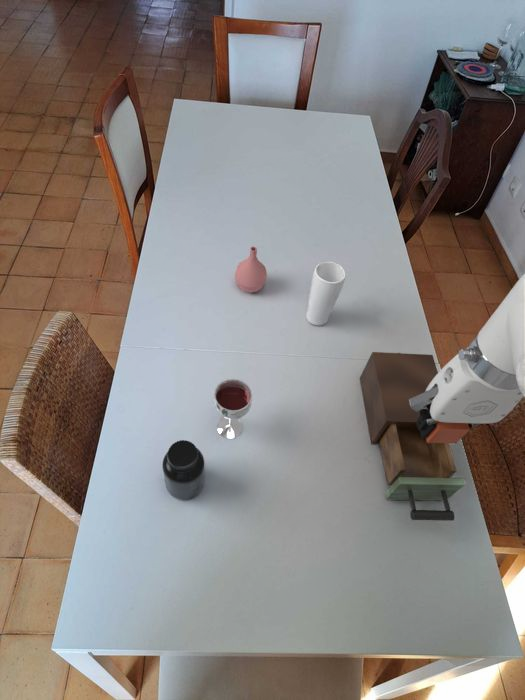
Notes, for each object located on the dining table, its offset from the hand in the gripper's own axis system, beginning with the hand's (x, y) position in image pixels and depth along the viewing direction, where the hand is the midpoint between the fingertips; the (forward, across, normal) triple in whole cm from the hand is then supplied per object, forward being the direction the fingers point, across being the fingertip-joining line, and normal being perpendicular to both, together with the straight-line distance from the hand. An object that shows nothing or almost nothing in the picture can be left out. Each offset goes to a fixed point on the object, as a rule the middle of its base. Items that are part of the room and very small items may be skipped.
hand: (438, 428), depth 68 cm
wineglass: (+22, -31, +11) cm, 39 cm away
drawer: (+20, +3, +1) cm, 21 cm away
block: (0, 0, 0) cm, 0 cm away
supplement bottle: (+22, -38, -1) cm, 44 cm away
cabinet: (+21, +4, +15) cm, 27 cm away
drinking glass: (+22, -10, +40) cm, 46 cm away
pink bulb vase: (+22, -26, +49) cm, 60 cm away
